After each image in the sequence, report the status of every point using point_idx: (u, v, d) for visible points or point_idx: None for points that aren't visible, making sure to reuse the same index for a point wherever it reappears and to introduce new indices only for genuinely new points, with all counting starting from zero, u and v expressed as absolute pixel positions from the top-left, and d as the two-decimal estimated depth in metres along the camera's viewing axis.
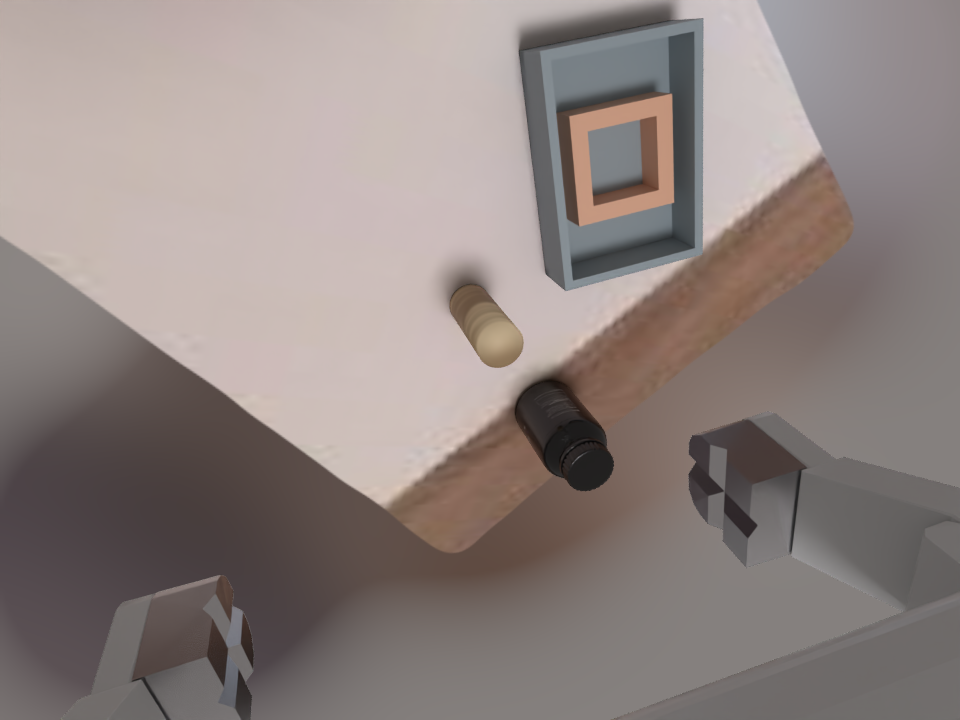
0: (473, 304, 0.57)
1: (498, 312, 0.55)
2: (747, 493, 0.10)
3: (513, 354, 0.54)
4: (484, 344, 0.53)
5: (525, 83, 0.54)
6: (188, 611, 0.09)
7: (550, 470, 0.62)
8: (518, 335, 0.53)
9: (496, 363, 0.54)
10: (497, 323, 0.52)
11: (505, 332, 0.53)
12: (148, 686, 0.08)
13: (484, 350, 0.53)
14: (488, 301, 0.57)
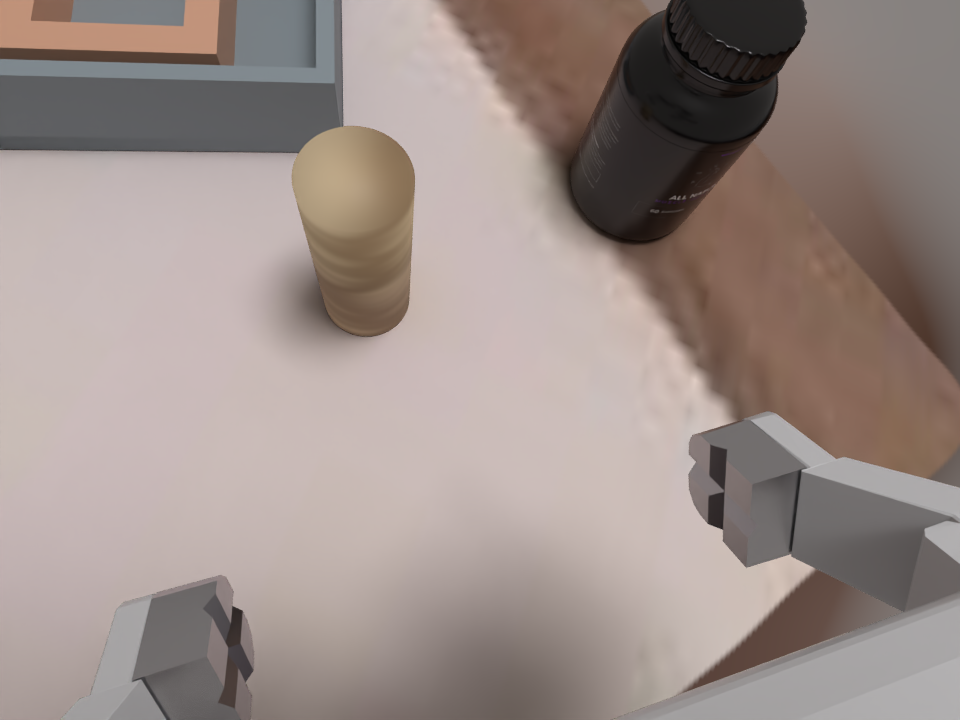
0: (314, 265, 0.26)
1: None
2: (747, 493, 0.10)
3: (386, 152, 0.22)
4: (337, 213, 0.21)
5: None
6: (188, 611, 0.09)
7: (749, 130, 0.25)
8: (338, 134, 0.22)
9: (400, 193, 0.21)
10: (292, 178, 0.21)
11: (319, 161, 0.21)
12: (148, 686, 0.08)
13: (355, 214, 0.21)
14: None
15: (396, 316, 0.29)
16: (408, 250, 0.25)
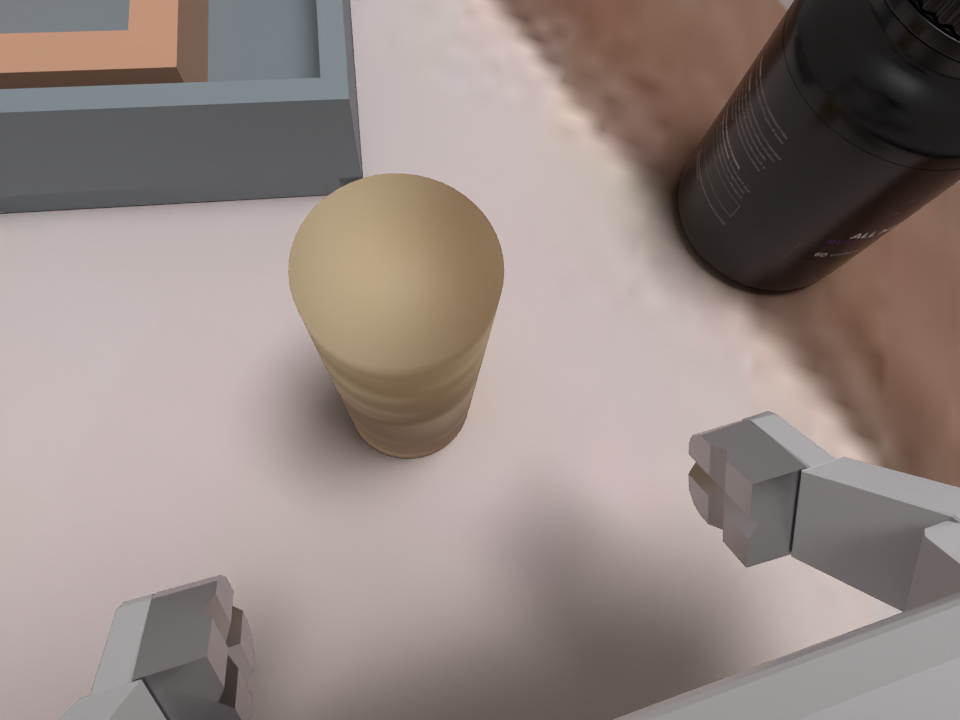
0: None
1: None
2: (747, 493, 0.10)
3: (450, 217, 0.12)
4: (372, 335, 0.12)
5: None
6: (188, 611, 0.09)
7: None
8: (364, 191, 0.12)
9: (480, 289, 0.12)
10: (290, 274, 0.12)
11: (336, 241, 0.12)
12: (148, 686, 0.08)
13: (405, 335, 0.12)
14: None
15: (455, 431, 0.20)
16: (482, 359, 0.15)
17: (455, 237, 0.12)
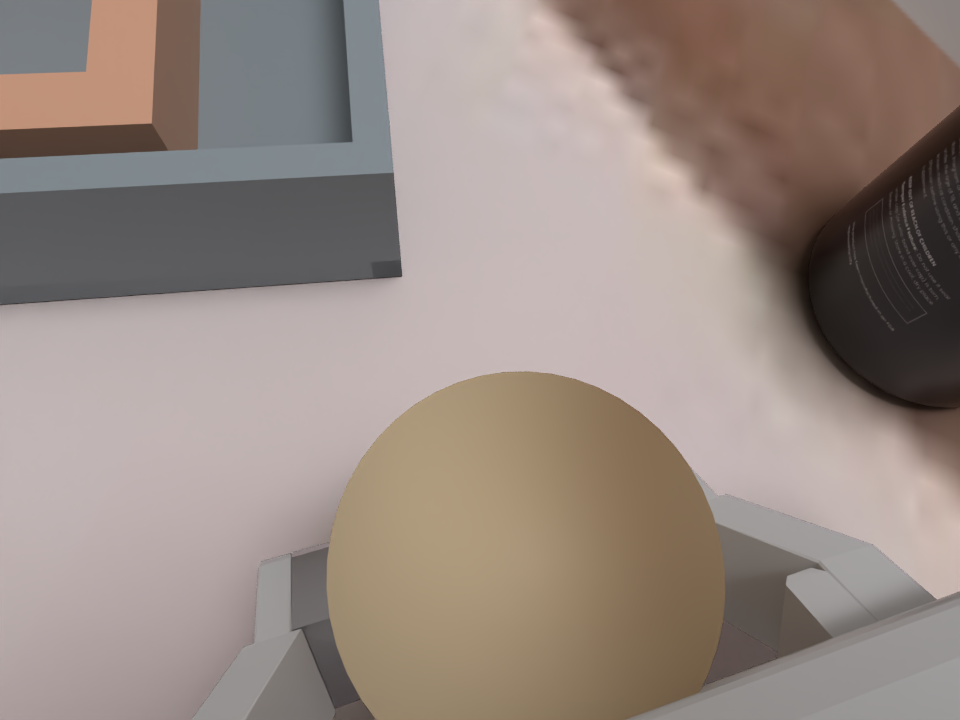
0: None
1: None
2: None
3: (618, 457, 0.07)
4: None
5: None
6: None
7: None
8: (462, 408, 0.07)
9: (685, 608, 0.06)
10: (329, 581, 0.06)
11: (414, 515, 0.06)
12: (306, 636, 0.09)
13: (553, 719, 0.06)
14: None
15: None
16: None
17: (630, 498, 0.07)
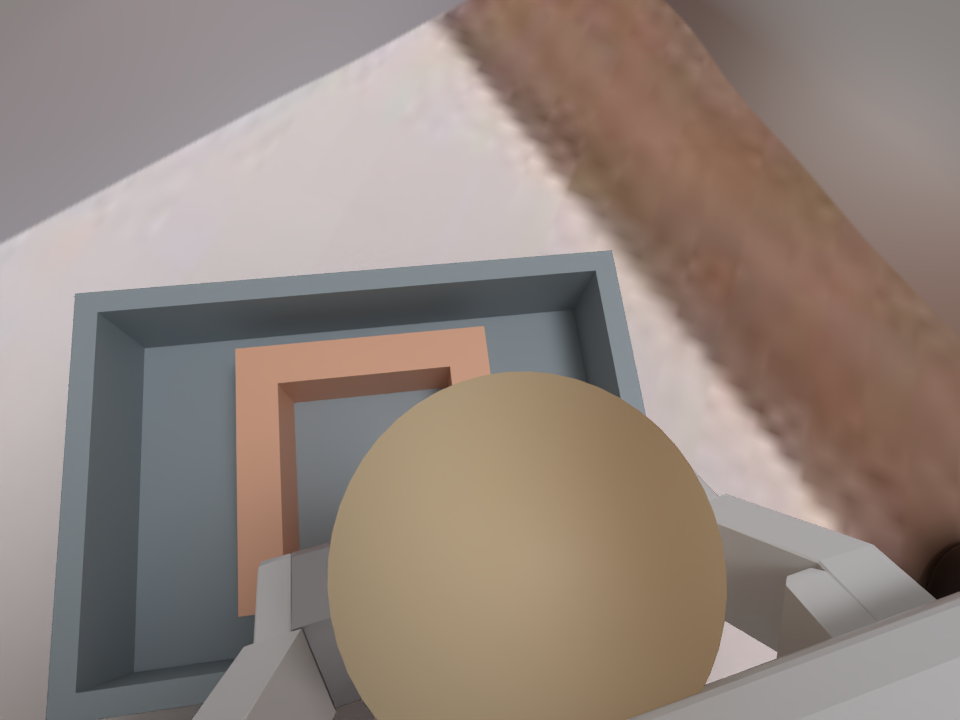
0: None
1: None
2: None
3: (619, 457, 0.07)
4: None
5: None
6: None
7: None
8: (463, 408, 0.07)
9: (687, 609, 0.06)
10: (329, 583, 0.06)
11: (416, 516, 0.06)
12: (306, 636, 0.09)
13: (556, 719, 0.06)
14: None
15: None
16: None
17: (632, 498, 0.07)
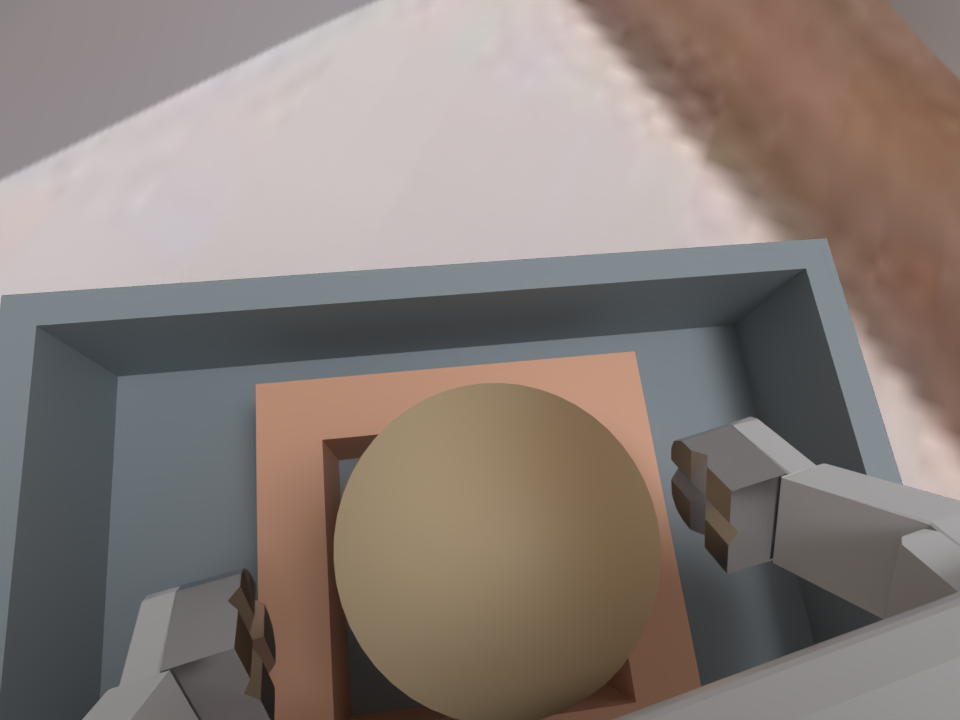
0: None
1: None
2: (727, 500, 0.10)
3: (574, 453, 0.08)
4: (467, 665, 0.07)
5: None
6: (213, 603, 0.09)
7: None
8: (444, 413, 0.08)
9: (627, 576, 0.08)
10: (335, 555, 0.08)
11: (405, 501, 0.08)
12: (176, 677, 0.08)
13: (518, 664, 0.07)
14: None
15: None
16: None
17: (583, 486, 0.08)
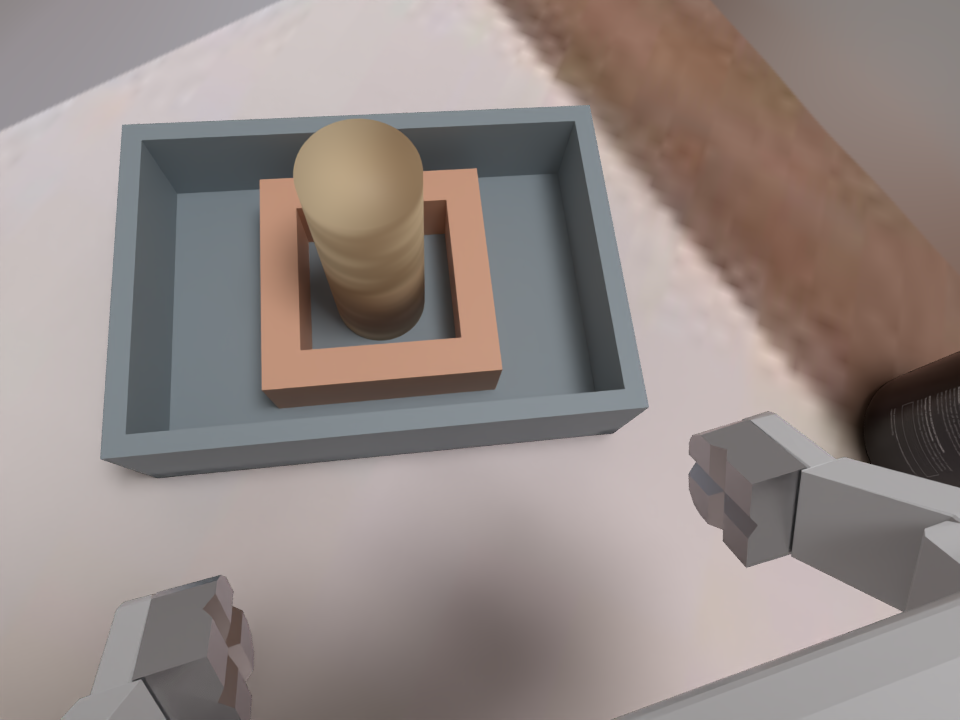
0: (323, 268, 0.25)
1: None
2: (747, 493, 0.10)
3: (391, 144, 0.20)
4: (343, 210, 0.20)
5: (213, 469, 0.27)
6: (188, 611, 0.09)
7: None
8: (339, 128, 0.20)
9: (408, 186, 0.20)
10: (293, 177, 0.20)
11: (322, 158, 0.20)
12: (148, 686, 0.08)
13: (362, 211, 0.20)
14: None
15: (412, 318, 0.28)
16: (420, 247, 0.23)
17: (394, 156, 0.20)
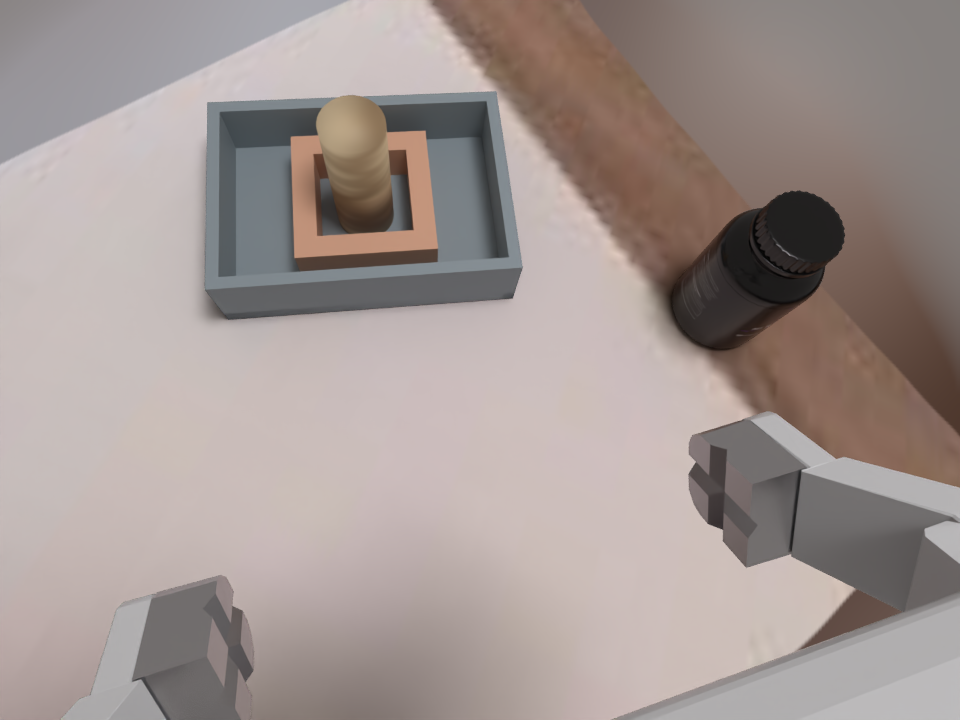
0: None
1: None
2: (747, 493, 0.10)
3: (369, 109, 0.38)
4: (342, 143, 0.37)
5: (263, 313, 0.44)
6: (188, 611, 0.09)
7: (808, 294, 0.39)
8: (341, 100, 0.38)
9: (377, 131, 0.37)
10: (316, 126, 0.37)
11: (331, 116, 0.37)
12: (148, 686, 0.08)
13: (353, 144, 0.37)
14: None
15: (385, 223, 0.45)
16: (387, 171, 0.41)
17: (370, 115, 0.37)
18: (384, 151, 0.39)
